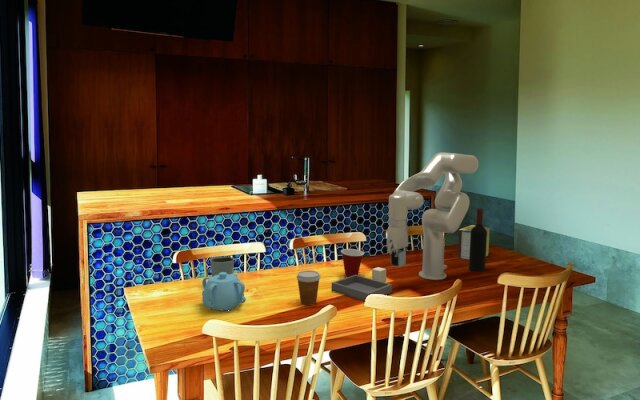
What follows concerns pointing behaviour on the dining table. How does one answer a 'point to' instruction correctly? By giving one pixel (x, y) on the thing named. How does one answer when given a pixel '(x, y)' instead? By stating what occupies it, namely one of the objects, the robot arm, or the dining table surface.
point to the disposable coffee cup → (308, 286)
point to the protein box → (468, 242)
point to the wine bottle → (478, 245)
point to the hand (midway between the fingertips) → (398, 263)
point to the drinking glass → (222, 265)
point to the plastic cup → (351, 261)
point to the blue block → (401, 258)
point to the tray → (360, 287)
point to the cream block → (379, 274)
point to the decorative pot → (223, 291)
